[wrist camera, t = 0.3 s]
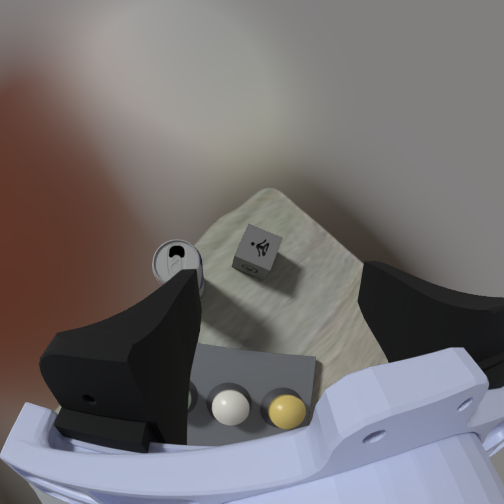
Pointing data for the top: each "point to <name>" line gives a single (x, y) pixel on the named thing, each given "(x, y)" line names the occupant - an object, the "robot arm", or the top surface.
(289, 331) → the top surface
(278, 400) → the mustard button
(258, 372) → the grey flat block
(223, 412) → the ivory button
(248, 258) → the dice cube
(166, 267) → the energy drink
